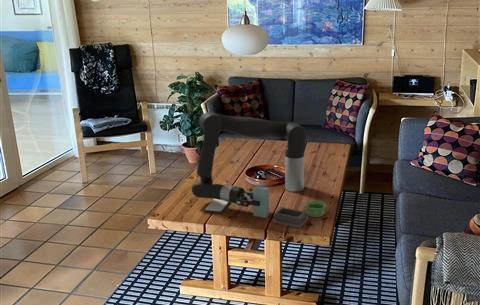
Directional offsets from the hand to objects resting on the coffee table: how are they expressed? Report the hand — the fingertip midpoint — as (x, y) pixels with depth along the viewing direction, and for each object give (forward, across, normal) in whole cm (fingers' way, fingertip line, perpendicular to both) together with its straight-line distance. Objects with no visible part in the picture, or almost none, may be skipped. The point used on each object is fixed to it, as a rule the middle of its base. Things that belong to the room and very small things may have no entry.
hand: (264, 200), depth 228 cm
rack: (+12, 0, +8) cm, 14 cm away
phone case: (-24, +1, +8) cm, 26 cm away
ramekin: (+19, +12, +8) cm, 24 cm away
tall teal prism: (-2, 0, +8) cm, 8 cm away
